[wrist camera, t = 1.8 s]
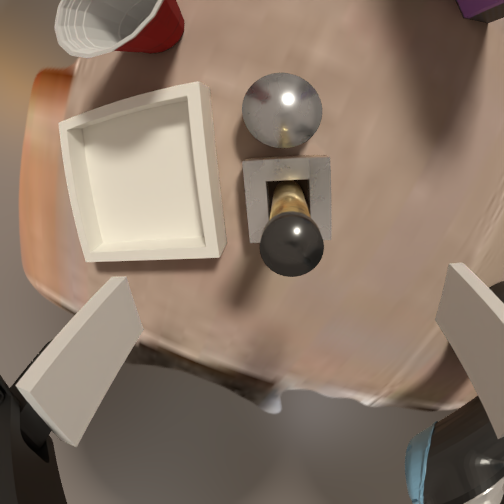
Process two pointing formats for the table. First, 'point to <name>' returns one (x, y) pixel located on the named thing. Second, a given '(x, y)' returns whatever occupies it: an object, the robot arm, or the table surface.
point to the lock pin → (290, 233)
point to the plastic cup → (117, 26)
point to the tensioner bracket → (284, 136)
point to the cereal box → (482, 9)
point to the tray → (146, 177)
